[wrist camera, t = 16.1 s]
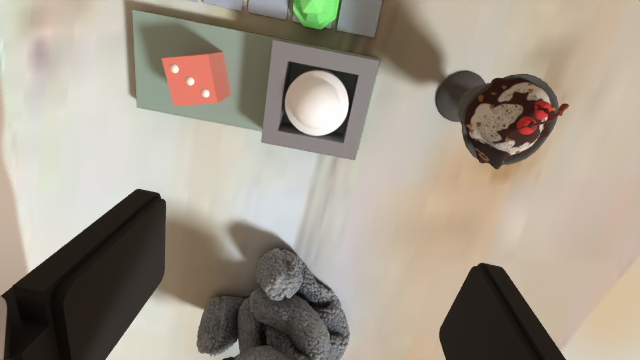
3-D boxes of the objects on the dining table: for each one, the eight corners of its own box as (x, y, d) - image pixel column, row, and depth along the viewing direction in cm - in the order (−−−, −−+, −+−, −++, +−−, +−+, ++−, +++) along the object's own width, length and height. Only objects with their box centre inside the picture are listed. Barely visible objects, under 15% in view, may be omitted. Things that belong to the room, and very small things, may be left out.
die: (181, 55, 31) (160, 58, 28) (223, 51, 31) (207, 54, 27) (191, 98, 33) (173, 106, 29) (231, 95, 33) (217, 103, 29)
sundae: (488, 49, 31) (606, 63, 17) (501, 115, 34) (614, 172, 20) (419, 77, 32) (479, 110, 19) (436, 138, 35) (501, 206, 21)
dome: (293, 62, 30) (286, 67, 26) (353, 74, 30) (356, 81, 26) (285, 121, 33) (277, 135, 28) (340, 132, 33) (341, 147, 28)
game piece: (349, -4, 30) (352, -12, 24) (323, 39, 31) (320, 41, 26) (309, -34, 29) (302, -50, 23) (284, 12, 30) (272, 7, 25)
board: (141, 10, 31) (109, 7, 27) (378, 58, 32) (385, 62, 28) (144, 104, 35) (117, 114, 30) (357, 145, 36) (360, 161, 31)
